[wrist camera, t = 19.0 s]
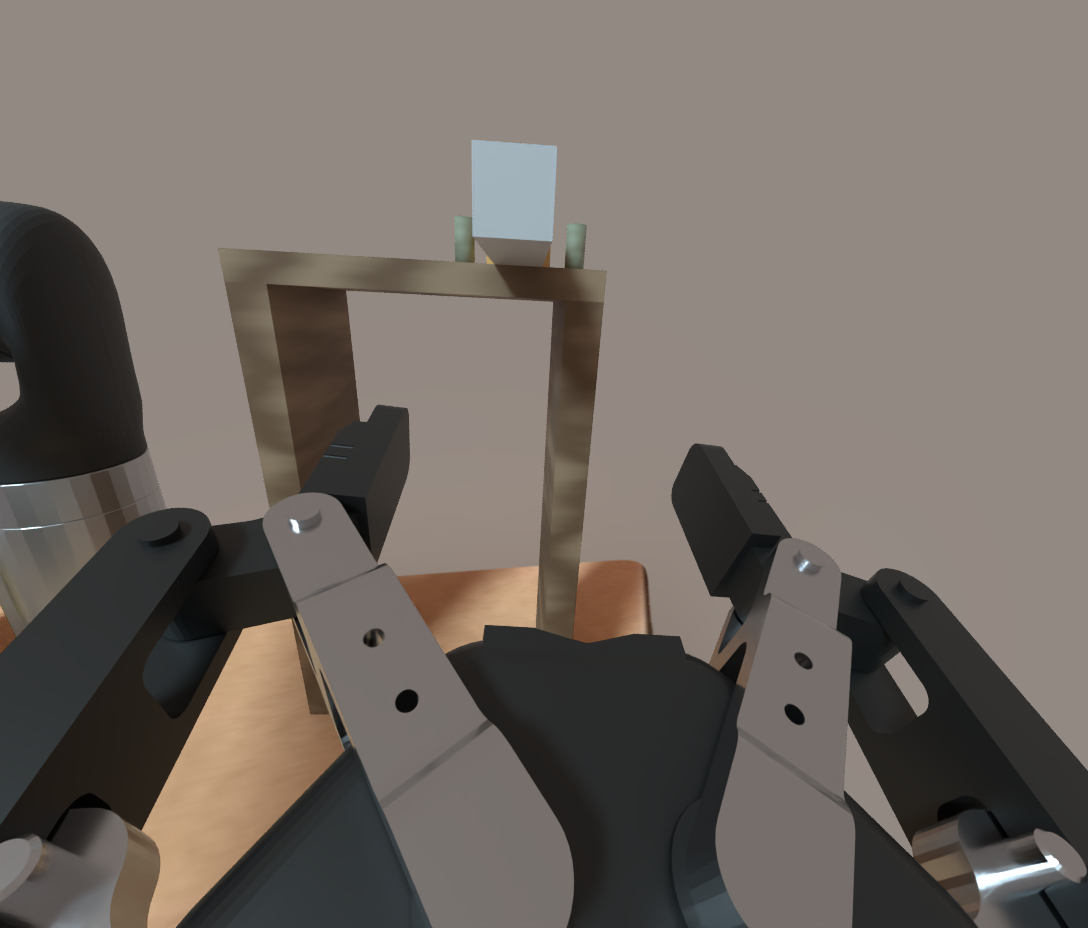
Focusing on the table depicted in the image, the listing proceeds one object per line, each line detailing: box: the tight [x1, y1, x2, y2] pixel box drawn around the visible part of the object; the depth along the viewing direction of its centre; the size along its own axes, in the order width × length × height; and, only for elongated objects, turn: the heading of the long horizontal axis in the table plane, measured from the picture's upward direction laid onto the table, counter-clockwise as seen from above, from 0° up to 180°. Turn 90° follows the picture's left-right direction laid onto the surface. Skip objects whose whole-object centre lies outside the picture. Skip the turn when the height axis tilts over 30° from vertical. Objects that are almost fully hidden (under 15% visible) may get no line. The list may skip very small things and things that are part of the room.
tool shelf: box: [218, 216, 607, 714], centre depth 30 cm, size 19×10×34 cm, turn 92°
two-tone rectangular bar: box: [472, 140, 557, 267], centre depth 22 cm, size 3×20×3 cm, turn 2°
